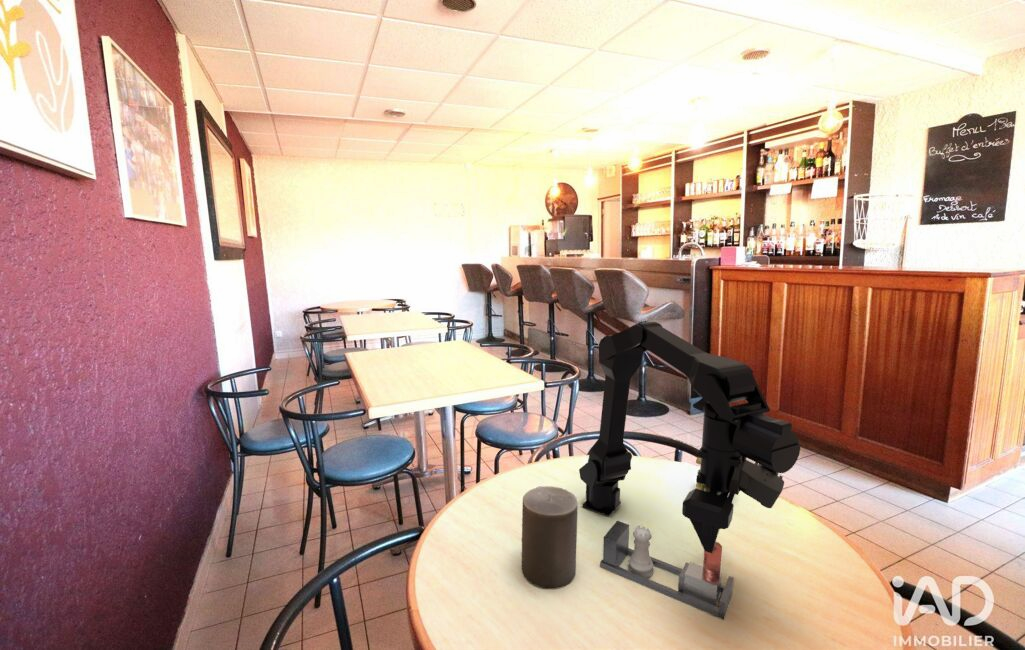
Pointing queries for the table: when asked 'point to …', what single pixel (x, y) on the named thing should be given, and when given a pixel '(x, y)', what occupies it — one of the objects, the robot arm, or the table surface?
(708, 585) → the ram
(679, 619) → the table surface
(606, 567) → the press bed
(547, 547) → the pillar candle
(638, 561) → the rook chess piece
